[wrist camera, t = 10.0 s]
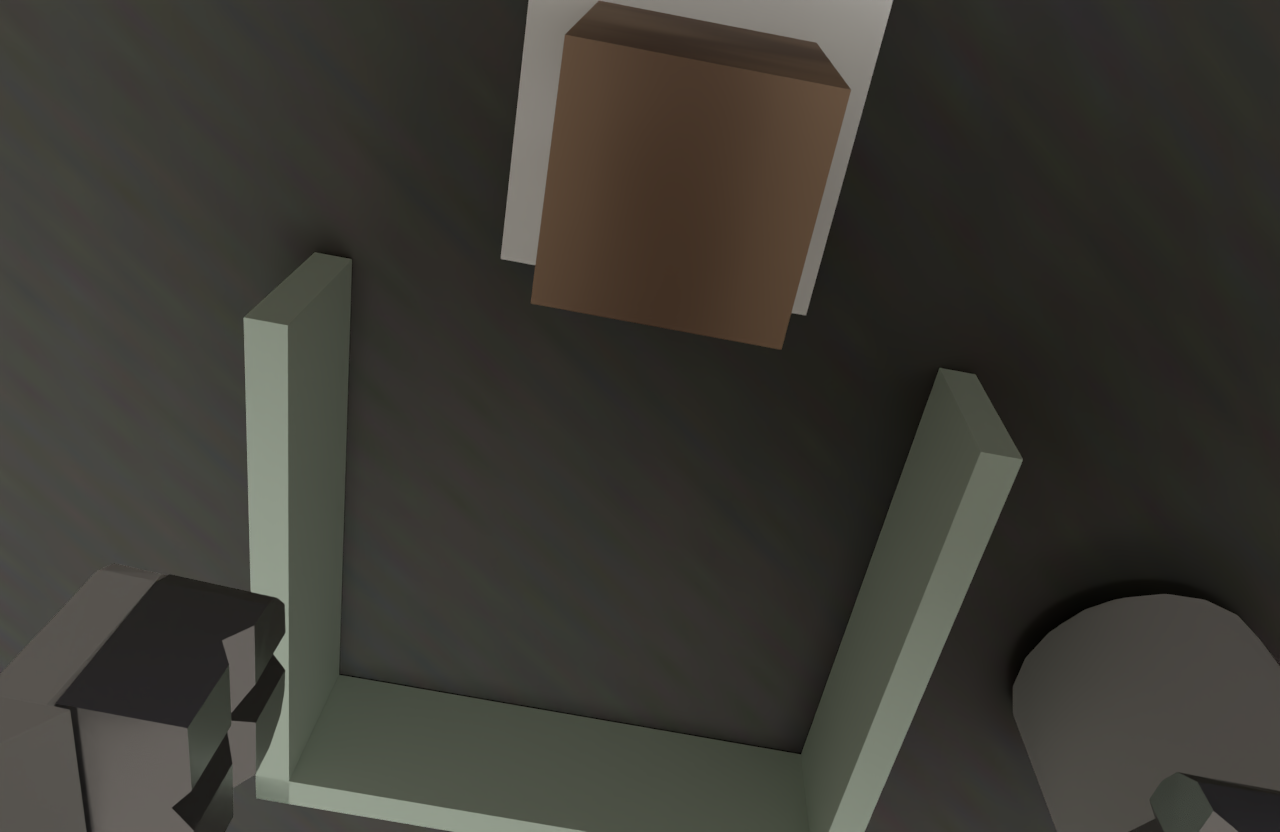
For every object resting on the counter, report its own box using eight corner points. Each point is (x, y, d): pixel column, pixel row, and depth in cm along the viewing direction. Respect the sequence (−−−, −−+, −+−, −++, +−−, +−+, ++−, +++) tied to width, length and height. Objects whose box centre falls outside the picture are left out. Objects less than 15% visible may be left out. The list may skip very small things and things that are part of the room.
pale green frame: (975, 374, 26) (1022, 459, 22) (821, 778, 34) (837, 896, 30) (314, 252, 26) (243, 317, 22) (309, 690, 33) (256, 798, 29)
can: (954, 684, 32) (1078, 1082, 21) (1135, 533, 28) (1390, 912, 18) (1116, 786, 33) (1308, 1201, 23) (1305, 654, 30) (1628, 1065, 20)
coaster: (892, -20, 22) (897, -17, 21) (803, 306, 26) (806, 315, 25) (542, -89, 22) (538, -88, 21) (504, 251, 25) (500, 258, 25)
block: (816, 42, 22) (851, 90, 17) (765, 250, 24) (781, 349, 19) (599, 0, 22) (564, 35, 17) (569, 213, 24) (530, 303, 19)
